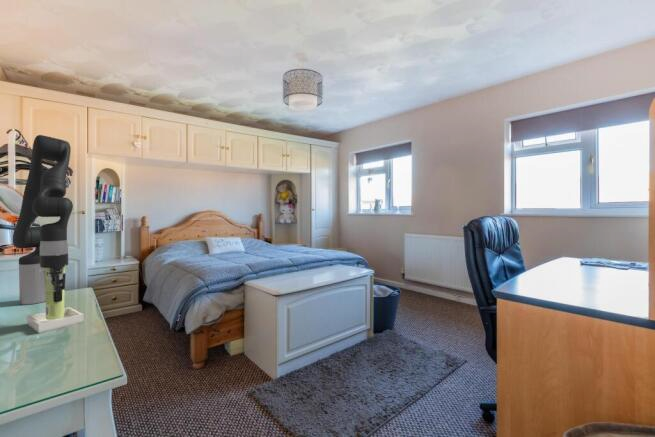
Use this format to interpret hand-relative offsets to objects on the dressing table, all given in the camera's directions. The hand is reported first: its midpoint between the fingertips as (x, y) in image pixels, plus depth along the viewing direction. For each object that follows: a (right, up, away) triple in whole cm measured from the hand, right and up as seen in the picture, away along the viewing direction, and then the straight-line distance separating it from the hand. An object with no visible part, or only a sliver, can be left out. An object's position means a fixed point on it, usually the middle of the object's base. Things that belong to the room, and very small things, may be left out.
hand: (55, 300), depth 108 cm
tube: (0, -7, 0) cm, 7 cm away
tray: (0, -8, 0) cm, 8 cm away
